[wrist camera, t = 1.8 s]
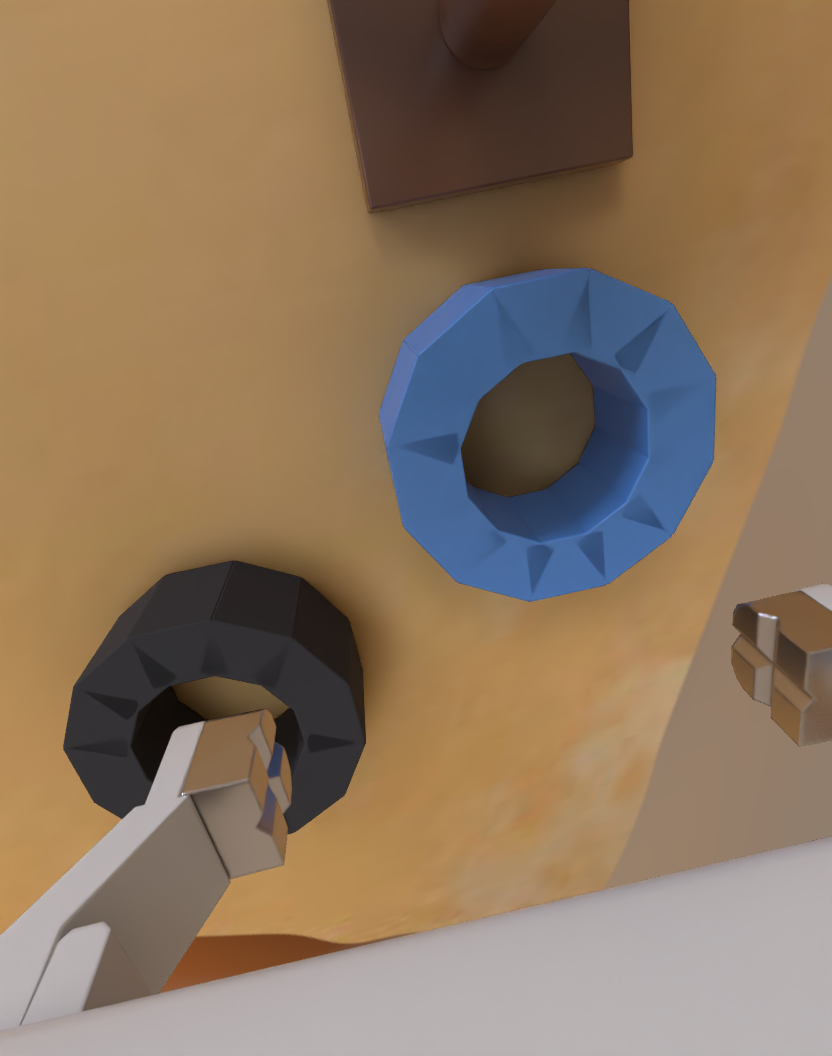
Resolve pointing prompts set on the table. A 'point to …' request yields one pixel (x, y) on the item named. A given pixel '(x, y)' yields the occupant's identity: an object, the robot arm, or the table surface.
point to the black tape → (230, 652)
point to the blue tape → (610, 455)
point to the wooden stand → (481, 92)
